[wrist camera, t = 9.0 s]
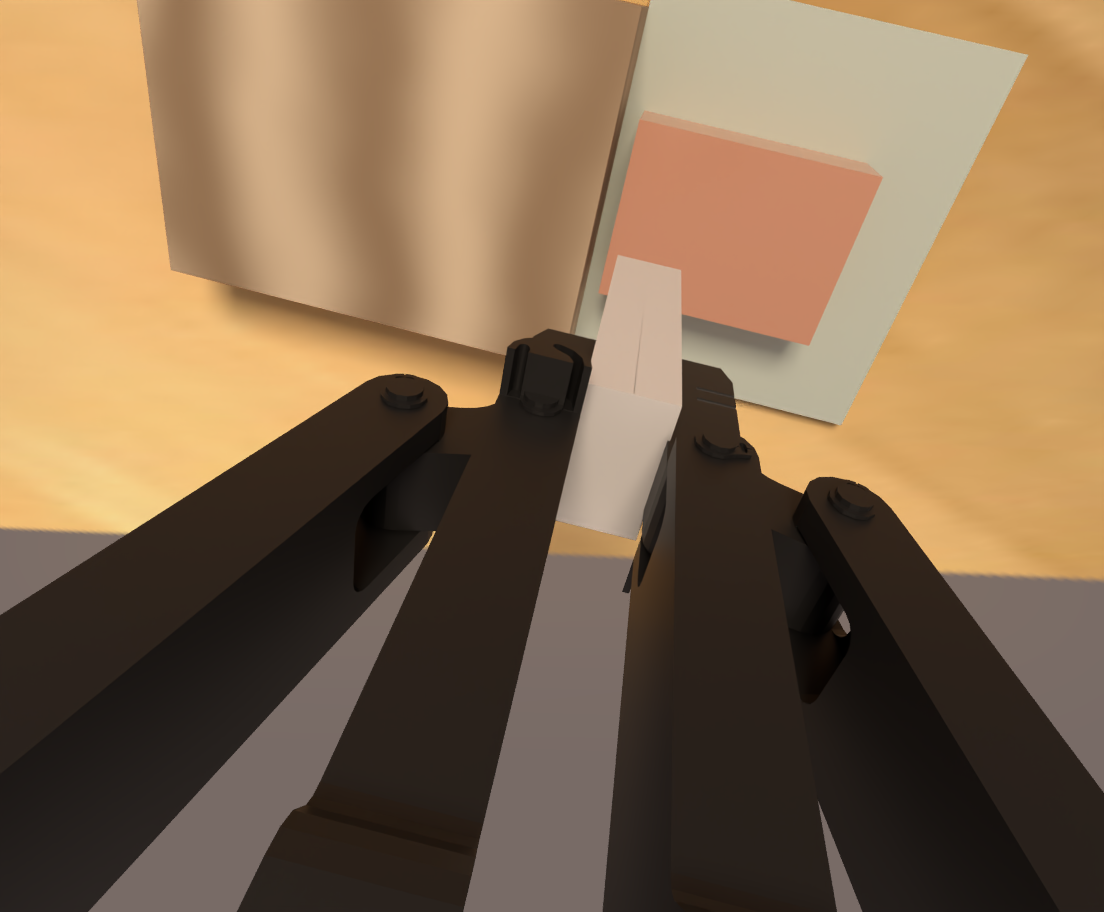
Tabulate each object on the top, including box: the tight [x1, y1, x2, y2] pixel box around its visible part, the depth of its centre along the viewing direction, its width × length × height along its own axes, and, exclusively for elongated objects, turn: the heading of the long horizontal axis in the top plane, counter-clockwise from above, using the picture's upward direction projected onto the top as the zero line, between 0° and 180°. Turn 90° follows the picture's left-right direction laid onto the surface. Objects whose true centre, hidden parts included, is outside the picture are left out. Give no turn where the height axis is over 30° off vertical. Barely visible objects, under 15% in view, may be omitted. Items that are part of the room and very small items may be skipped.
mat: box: [575, 0, 1028, 425], centre depth 26 cm, size 12×14×1 cm
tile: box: [598, 110, 883, 346], centre depth 25 cm, size 8×6×2 cm
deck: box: [137, 0, 649, 356], centre depth 25 cm, size 16×12×4 cm
